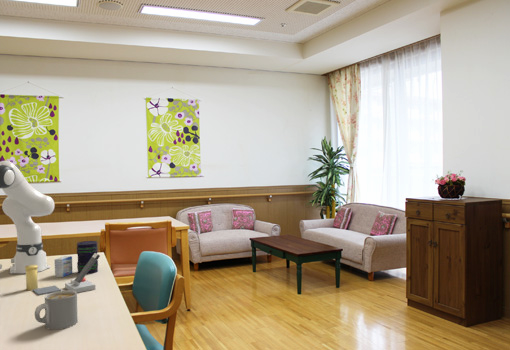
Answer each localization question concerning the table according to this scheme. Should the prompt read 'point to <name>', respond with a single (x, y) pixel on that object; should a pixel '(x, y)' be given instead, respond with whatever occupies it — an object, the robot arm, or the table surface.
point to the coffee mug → (58, 310)
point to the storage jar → (86, 255)
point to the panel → (80, 286)
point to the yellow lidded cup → (31, 277)
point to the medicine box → (63, 266)
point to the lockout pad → (46, 290)
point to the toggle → (86, 269)
